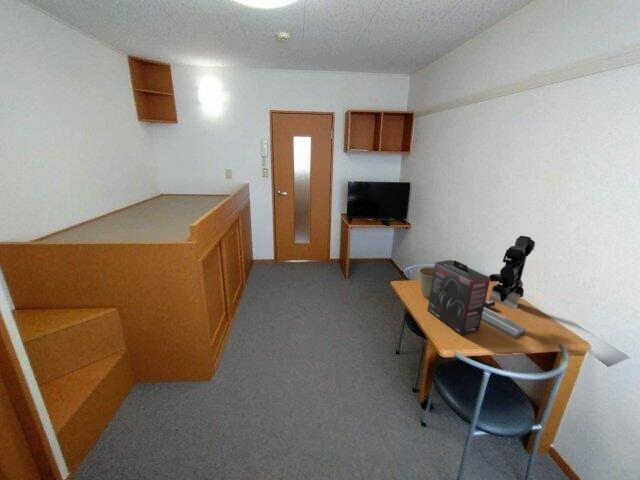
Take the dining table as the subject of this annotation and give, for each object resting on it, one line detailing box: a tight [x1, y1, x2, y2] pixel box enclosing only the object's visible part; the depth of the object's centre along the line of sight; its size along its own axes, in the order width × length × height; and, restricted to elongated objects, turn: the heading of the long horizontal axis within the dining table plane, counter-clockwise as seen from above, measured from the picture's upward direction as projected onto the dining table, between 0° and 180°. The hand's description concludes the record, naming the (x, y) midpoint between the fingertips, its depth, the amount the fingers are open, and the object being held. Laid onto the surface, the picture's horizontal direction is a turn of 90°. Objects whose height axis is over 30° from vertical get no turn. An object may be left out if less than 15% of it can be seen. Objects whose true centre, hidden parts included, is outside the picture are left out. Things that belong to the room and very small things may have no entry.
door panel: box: [489, 287, 520, 310], centre depth 146 cm, size 3×12×7 cm, turn 36°
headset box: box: [427, 259, 491, 336], centre depth 147 cm, size 24×13×33 cm, turn 21°
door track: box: [481, 307, 526, 339], centre depth 150 cm, size 10×24×4 cm, turn 28°
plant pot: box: [418, 266, 434, 299], centre depth 175 cm, size 15×15×16 cm
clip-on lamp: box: [484, 294, 496, 309], centre depth 167 cm, size 12×6×18 cm
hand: (503, 300), depth 147 cm, fingers closed on door panel, 3 cm apart
